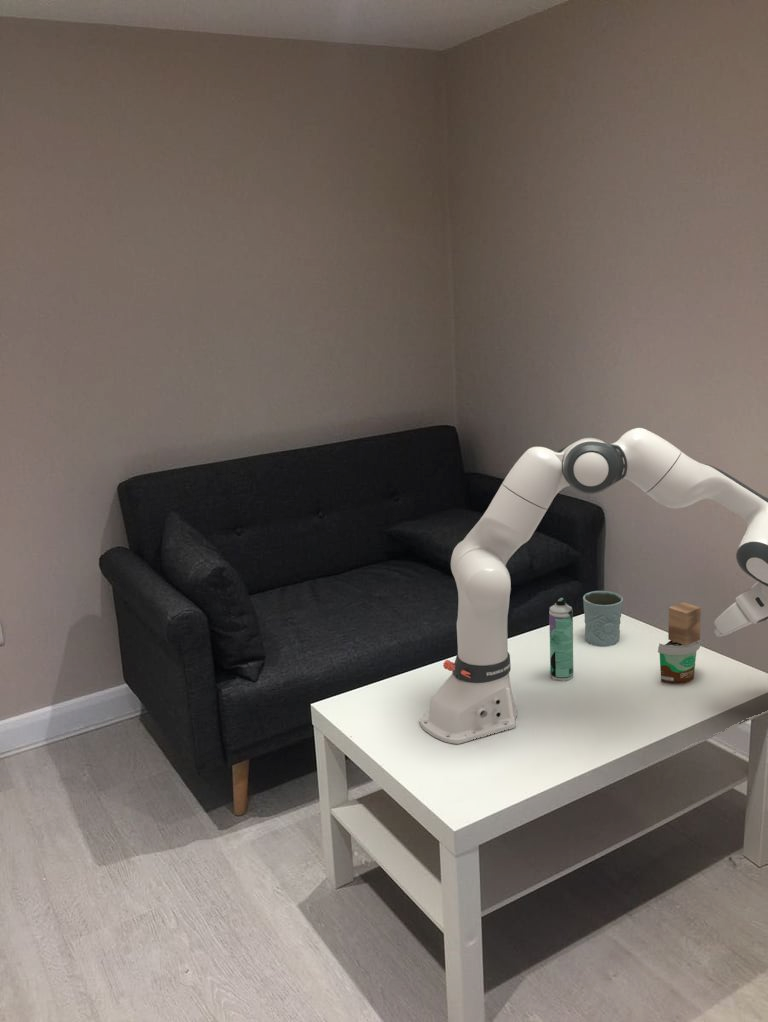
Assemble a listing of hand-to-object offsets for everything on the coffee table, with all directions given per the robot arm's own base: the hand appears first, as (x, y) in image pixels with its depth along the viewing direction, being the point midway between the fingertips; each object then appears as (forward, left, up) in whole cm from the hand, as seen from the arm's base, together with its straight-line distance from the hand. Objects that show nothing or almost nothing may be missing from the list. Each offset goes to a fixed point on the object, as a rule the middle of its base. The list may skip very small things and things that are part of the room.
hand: (731, 627), depth 203 cm
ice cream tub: (0, +12, -17) cm, 21 cm away
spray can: (-20, +32, -17) cm, 42 cm away
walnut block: (0, +12, -7) cm, 14 cm away
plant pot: (+3, +40, -17) cm, 44 cm away
